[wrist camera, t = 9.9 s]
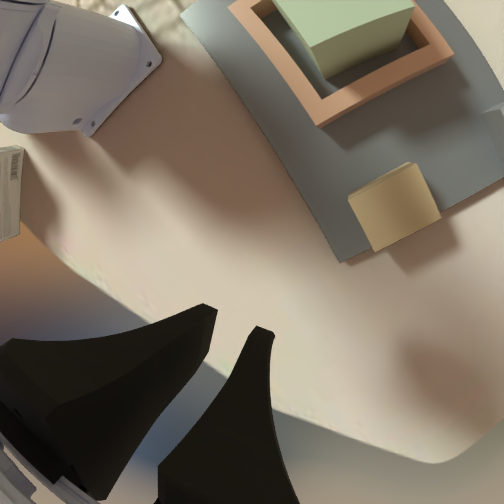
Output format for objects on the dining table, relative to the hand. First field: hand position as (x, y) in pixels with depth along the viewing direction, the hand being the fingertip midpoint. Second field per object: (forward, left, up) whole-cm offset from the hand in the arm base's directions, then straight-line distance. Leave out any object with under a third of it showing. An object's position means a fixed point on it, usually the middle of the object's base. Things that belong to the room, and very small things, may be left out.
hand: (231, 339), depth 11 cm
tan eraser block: (+7, 0, -10) cm, 13 cm away
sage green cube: (+10, +10, -10) cm, 17 cm away
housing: (+10, +8, -10) cm, 17 cm away
